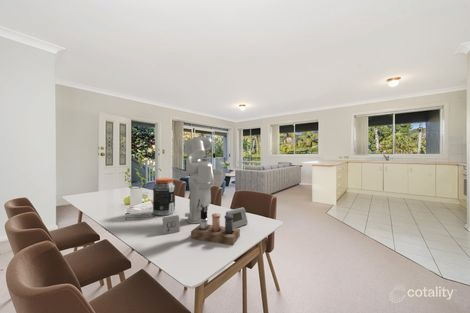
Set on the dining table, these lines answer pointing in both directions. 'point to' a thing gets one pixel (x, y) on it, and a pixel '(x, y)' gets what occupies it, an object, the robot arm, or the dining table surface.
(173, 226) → the electrical switch
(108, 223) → the dining table surface
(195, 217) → the robot arm
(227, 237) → the walnut block
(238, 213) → the digital clock
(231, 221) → the charcoal peg
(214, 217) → the terracotta peg
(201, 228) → the grey peg
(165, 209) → the supplement tub
